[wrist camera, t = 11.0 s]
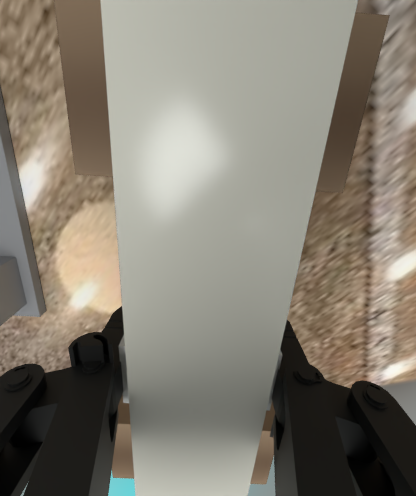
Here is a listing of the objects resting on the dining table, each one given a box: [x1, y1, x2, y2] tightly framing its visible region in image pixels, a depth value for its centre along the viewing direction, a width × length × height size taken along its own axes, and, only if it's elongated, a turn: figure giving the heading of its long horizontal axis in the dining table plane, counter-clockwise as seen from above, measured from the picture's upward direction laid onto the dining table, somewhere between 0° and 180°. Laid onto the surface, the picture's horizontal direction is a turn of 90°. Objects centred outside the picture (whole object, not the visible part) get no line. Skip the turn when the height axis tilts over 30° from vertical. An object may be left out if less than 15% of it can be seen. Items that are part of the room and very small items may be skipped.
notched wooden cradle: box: [54, 0, 390, 484], centre depth 17 cm, size 26×14×12 cm, turn 176°
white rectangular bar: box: [100, 0, 358, 496], centre depth 10 cm, size 22×4×5 cm, turn 176°
